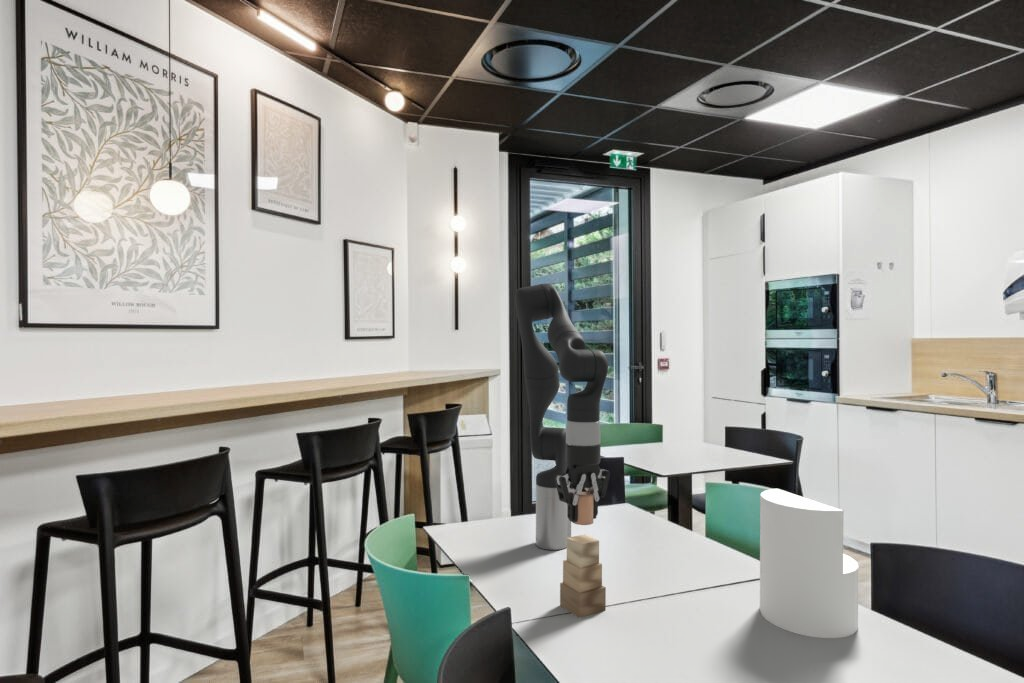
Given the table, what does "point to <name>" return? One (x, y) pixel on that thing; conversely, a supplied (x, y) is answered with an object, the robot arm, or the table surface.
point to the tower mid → (582, 576)
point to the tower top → (583, 550)
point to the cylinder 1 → (585, 508)
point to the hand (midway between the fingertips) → (582, 519)
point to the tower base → (582, 600)
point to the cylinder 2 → (806, 567)
